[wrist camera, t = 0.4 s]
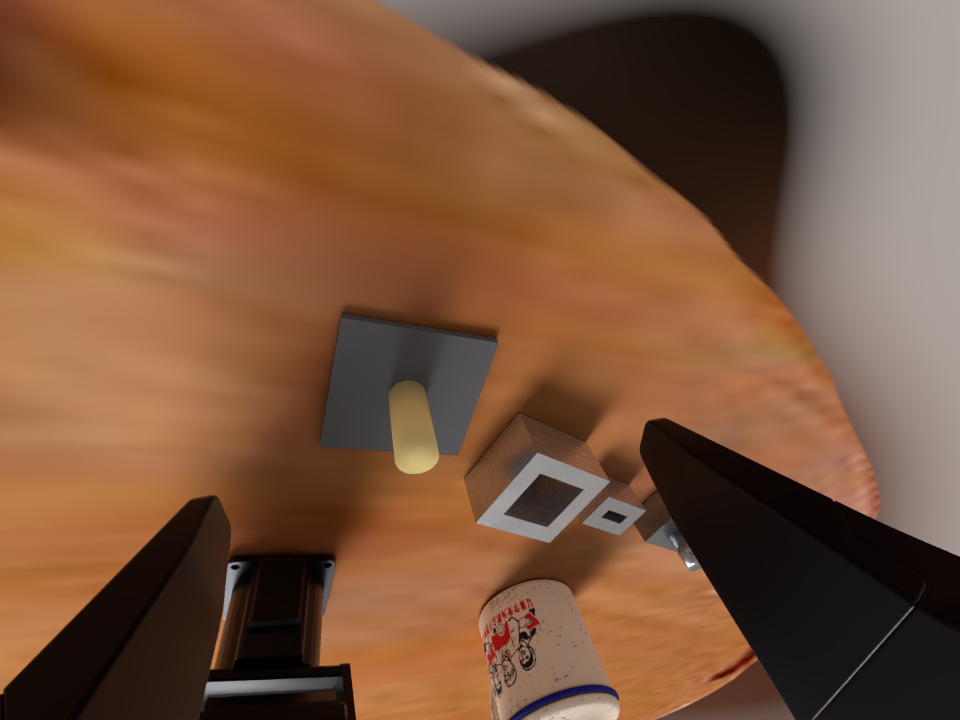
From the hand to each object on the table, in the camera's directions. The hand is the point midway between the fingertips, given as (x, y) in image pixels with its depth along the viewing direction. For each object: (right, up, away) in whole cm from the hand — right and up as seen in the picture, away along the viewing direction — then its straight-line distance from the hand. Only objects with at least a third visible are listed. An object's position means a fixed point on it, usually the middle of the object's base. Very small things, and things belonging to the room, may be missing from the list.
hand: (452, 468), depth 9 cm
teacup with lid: (+4, -21, +31) cm, 37 cm away
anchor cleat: (+15, -10, +27) cm, 33 cm away
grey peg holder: (-3, +1, +15) cm, 16 cm away
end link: (+4, -4, +20) cm, 21 cm away
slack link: (+9, -7, +24) cm, 27 cm away
